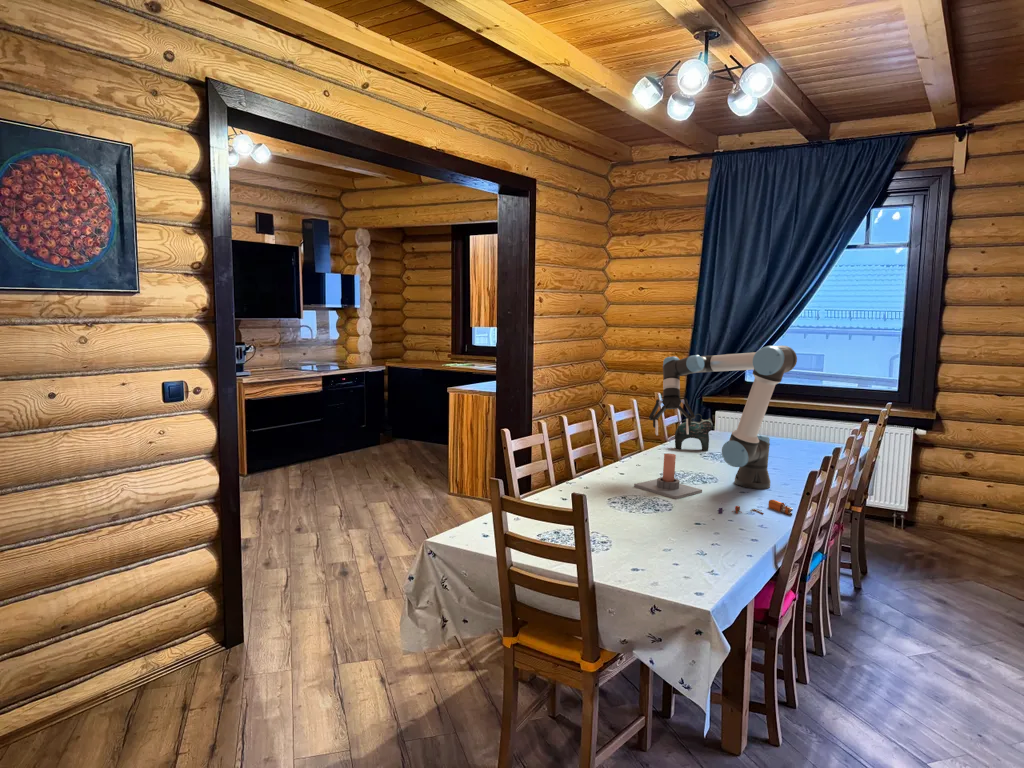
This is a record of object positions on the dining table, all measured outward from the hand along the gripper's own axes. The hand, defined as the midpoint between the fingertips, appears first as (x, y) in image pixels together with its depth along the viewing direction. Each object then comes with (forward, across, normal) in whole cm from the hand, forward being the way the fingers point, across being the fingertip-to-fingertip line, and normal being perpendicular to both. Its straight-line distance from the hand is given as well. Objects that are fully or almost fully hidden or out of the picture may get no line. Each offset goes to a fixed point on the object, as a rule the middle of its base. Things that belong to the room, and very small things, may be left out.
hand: (672, 434), depth 303 cm
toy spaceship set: (+41, -31, +24) cm, 57 cm away
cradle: (+26, +1, +6) cm, 27 cm away
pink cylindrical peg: (+25, +1, +6) cm, 26 cm away
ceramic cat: (-14, -2, -76) cm, 77 cm away
